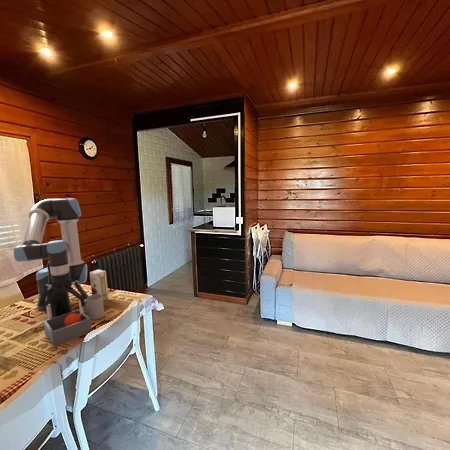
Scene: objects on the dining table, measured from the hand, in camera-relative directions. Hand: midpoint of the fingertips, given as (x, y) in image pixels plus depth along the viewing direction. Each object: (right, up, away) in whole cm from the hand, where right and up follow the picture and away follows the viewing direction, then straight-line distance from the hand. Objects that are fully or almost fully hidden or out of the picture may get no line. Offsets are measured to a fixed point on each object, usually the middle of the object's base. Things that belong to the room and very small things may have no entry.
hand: (66, 315), depth 121 cm
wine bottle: (-11, -8, +13) cm, 18 cm away
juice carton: (-1, -4, +37) cm, 37 cm away
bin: (0, -9, +1) cm, 9 cm away
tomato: (+1, -7, +2) cm, 7 cm away
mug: (+5, -6, +18) cm, 20 cm away
